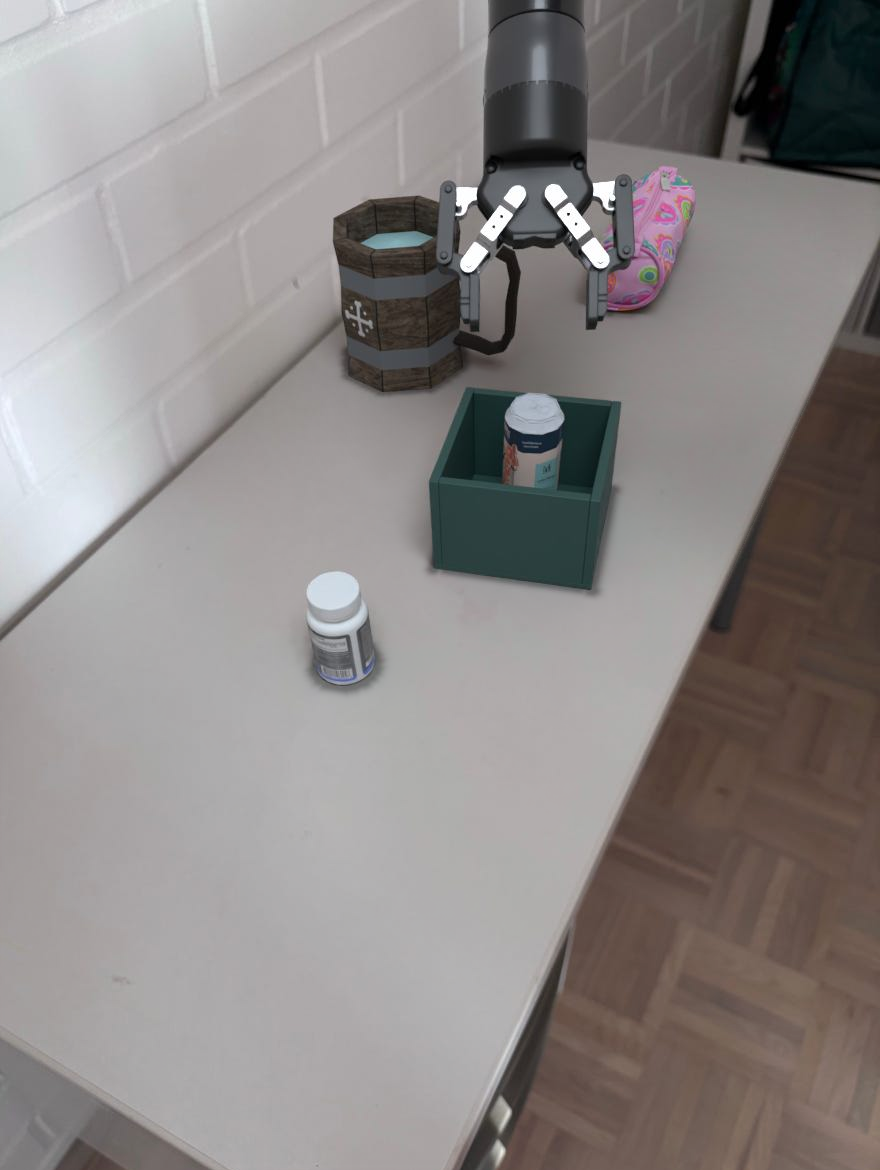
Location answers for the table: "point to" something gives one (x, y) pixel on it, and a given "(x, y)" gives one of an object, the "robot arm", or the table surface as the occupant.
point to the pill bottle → (339, 628)
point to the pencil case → (651, 237)
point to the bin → (522, 495)
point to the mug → (405, 296)
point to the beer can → (533, 442)
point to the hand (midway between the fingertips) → (533, 328)
